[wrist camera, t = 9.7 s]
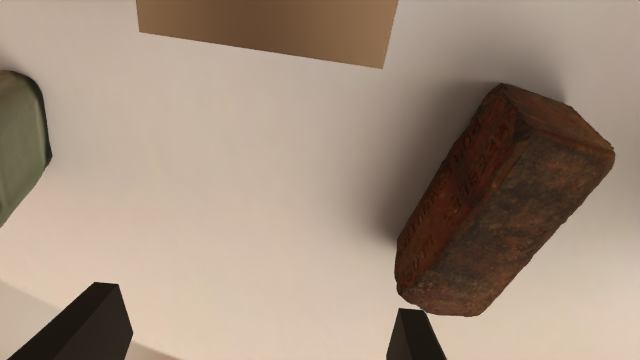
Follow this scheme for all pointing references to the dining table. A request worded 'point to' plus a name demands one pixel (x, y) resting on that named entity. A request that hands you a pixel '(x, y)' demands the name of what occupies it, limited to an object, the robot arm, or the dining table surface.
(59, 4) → the dining table surface
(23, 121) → the tan tapered stone
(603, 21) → the dining table surface
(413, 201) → the dining table surface
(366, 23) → the walnut cube
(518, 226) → the brick
